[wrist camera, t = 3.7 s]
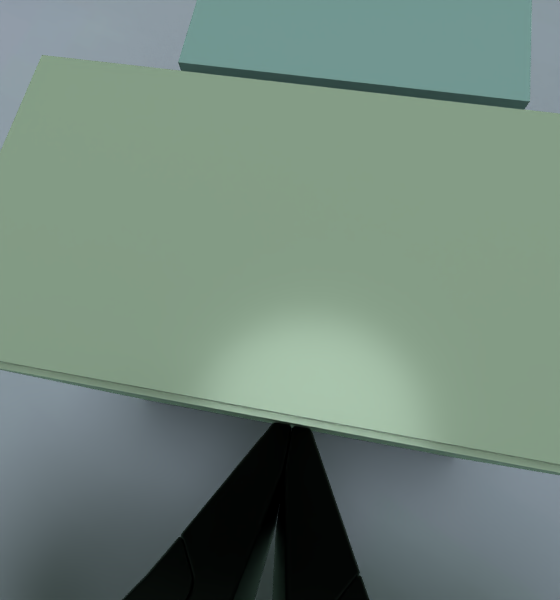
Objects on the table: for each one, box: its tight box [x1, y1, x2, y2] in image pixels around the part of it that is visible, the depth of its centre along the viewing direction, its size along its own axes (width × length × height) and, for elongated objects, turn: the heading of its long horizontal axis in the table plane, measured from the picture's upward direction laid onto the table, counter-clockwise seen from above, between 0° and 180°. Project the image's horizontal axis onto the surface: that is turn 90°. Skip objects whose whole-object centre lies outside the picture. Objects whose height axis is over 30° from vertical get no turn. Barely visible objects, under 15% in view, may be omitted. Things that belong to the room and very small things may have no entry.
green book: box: [0, 55, 560, 475], centre depth 12 cm, size 6×12×11 cm, turn 80°
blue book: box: [178, 0, 532, 110], centre depth 14 cm, size 4×7×10 cm, turn 80°
